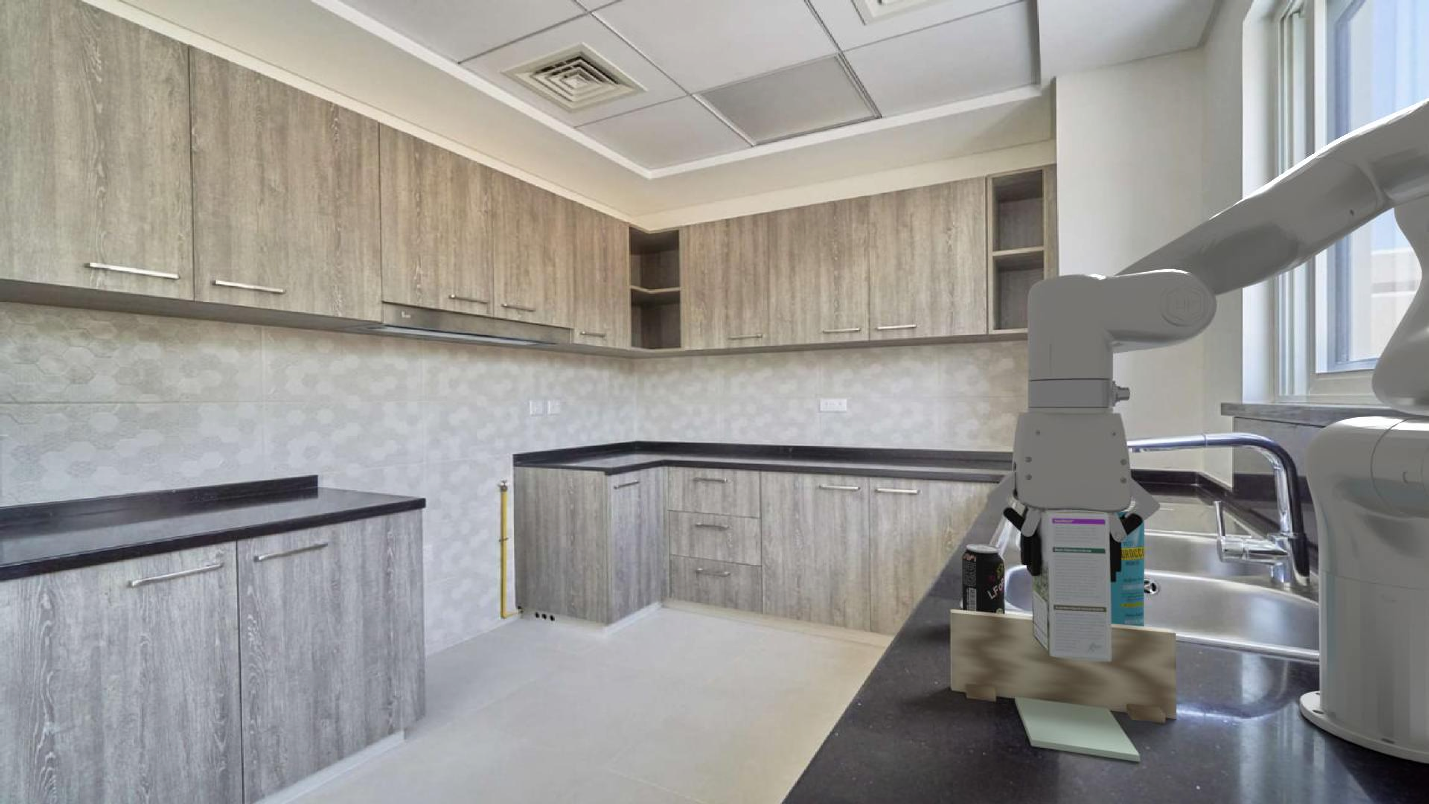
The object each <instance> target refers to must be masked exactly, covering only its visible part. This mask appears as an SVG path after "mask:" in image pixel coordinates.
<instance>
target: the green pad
mask: <svg viewBox="0 0 1429 804" xmlns="http://www.w3.org/2000/svg"><path fill="white" fill-rule="evenodd" d="M1014 702H1015V706H1016V708H1017V711H1018V714H1019V716H1020V719H1021V721H1022V724H1023V727H1024V729H1025V733H1026V735H1027V737H1028V740H1029V742H1030V745H1031V747H1037V748H1044V749H1051V750H1057V751H1064V752H1071V753H1077V754H1085V755H1092V756H1099V757H1103V758H1104V757H1105V758H1111V759H1117V760H1124V761H1125V760H1126V761H1131V762H1137V763H1141V756H1140V754H1139V752H1138V750H1137V749H1136V748H1135V746H1134V745H1133V743H1132V741H1131V740H1130V738H1129V737H1128V735H1127V734H1126V733H1125V731H1124V730H1123V728H1122V727H1121V725H1120V724H1119V722H1118V721H1117V720H1116V718H1115V717H1114V714H1113V713H1112V712H1111V711H1109V709H1108V708H1101V707H1093V706H1085V705H1077V704H1069V703H1061V702H1053V701H1045V700H1038V699H1030V698H1022V697H1015V698H1014Z"/></svg>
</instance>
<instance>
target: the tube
mask: <svg viewBox="0 0 1429 804" xmlns="http://www.w3.org/2000/svg"><path fill="white" fill-rule="evenodd" d="M1129 511H1130V510H1124V511H1121V512H1117V515H1118V517H1121V516H1122V515H1123V514H1124V513H1126V512H1129ZM1145 549H1146V548H1145V520H1144V521H1143V522H1142V524H1141V525H1140V526H1139V527H1138V528H1136V529H1135V530H1134V531H1133V532H1131V533H1130V534H1129V535H1128V536H1127V538H1126V540H1125V541H1123V542H1121V554H1122V568H1121V572H1116V582H1110V585H1111V624H1121V625H1132V626H1143V627H1145V553H1146V552H1145Z"/></svg>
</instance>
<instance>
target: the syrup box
mask: <svg viewBox="0 0 1429 804" xmlns="http://www.w3.org/2000/svg"><path fill="white" fill-rule="evenodd" d="M1036 535H1037V536H1038V537H1039V538H1040V575H1038V576H1032V575H1031V587H1032V589H1031V590H1032V591H1031V596H1032V597H1031V599H1032V600H1031V601H1032V602H1031V603H1032V607H1031V608H1032V617H1033V636H1034V637H1035V639H1036V640H1037V641H1038V642H1039V643H1040V644H1041V646H1042V647H1043V648H1044V649H1045V650H1046V652H1047V653H1048V654H1049V655H1050V656H1053V657H1059V658H1066V659H1077V660H1091V661H1108V662H1111V658H1112V657H1111V585H1110V545H1109V514H1108V513H1105V512H1100V511H1091V510H1076V509H1060V510H1044V512H1042V516H1041V519H1040V521H1039V523H1038V525H1037V527H1036Z"/></svg>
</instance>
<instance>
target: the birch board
mask: <svg viewBox="0 0 1429 804" xmlns="http://www.w3.org/2000/svg"><path fill="white" fill-rule="evenodd" d="M949 613H950V616H949V617H950V688H951V691H953V692H963V693H965V695H966V698H967V699H971V700H972V699H973V700H981V701H989V702H995V703H996V702H997V697H1001V698H1007V699H1008V698H1009V699H1015V697H1022V698H1030V699H1038V700H1045V701H1053V702H1061V703H1069V704H1077V705H1085V706H1093V707H1101V708H1108V709H1109V711H1110V712H1111V711H1112V712H1118V713H1126V714H1127V716H1128V717H1130V718H1129V719H1131V720H1134V721H1142V722H1143V721H1144V722H1149V723H1150V722H1151V723H1159V724H1166V719H1172V720H1173V719H1174V720H1177V718H1178V717H1177V636H1176V635H1177V632H1175V630H1173V629H1172V628H1166V627H1165V628H1162V627H1154V626H1153V627H1151V626H1144V627H1143V626H1132V625H1121V624H1111V657H1112V658H1111V662H1108V661H1091V660H1077V659H1066V658H1059V657H1053V656H1050V655H1049V654H1048V653H1047V652H1046V650H1045V649H1044V648H1043V647H1042V646H1041V644H1040V643H1039V642H1038V641H1037V640H1036V639H1035V637H1034V636H1033V615H1030V616H1029V615H1020V614H1011V613H1010V614H1008V613H1005V614H999V613H988V612H976V611H965V610H962V609H954V608H953V609H951V608H950V612H949Z"/></svg>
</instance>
